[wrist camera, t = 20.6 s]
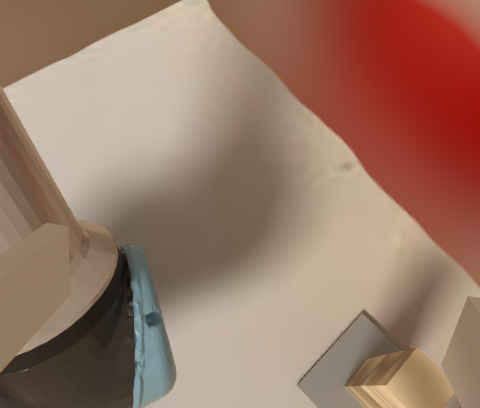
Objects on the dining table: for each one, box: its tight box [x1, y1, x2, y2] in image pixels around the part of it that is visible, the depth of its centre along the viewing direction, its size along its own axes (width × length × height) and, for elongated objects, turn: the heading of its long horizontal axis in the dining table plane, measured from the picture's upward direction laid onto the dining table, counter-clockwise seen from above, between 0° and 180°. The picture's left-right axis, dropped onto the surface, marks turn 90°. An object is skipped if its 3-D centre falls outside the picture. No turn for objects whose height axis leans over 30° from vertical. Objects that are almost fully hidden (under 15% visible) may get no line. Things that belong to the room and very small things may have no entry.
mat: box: [297, 313, 402, 408], centre depth 45 cm, size 11×11×1 cm
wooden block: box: [344, 347, 454, 408], centre depth 38 cm, size 4×4×14 cm
